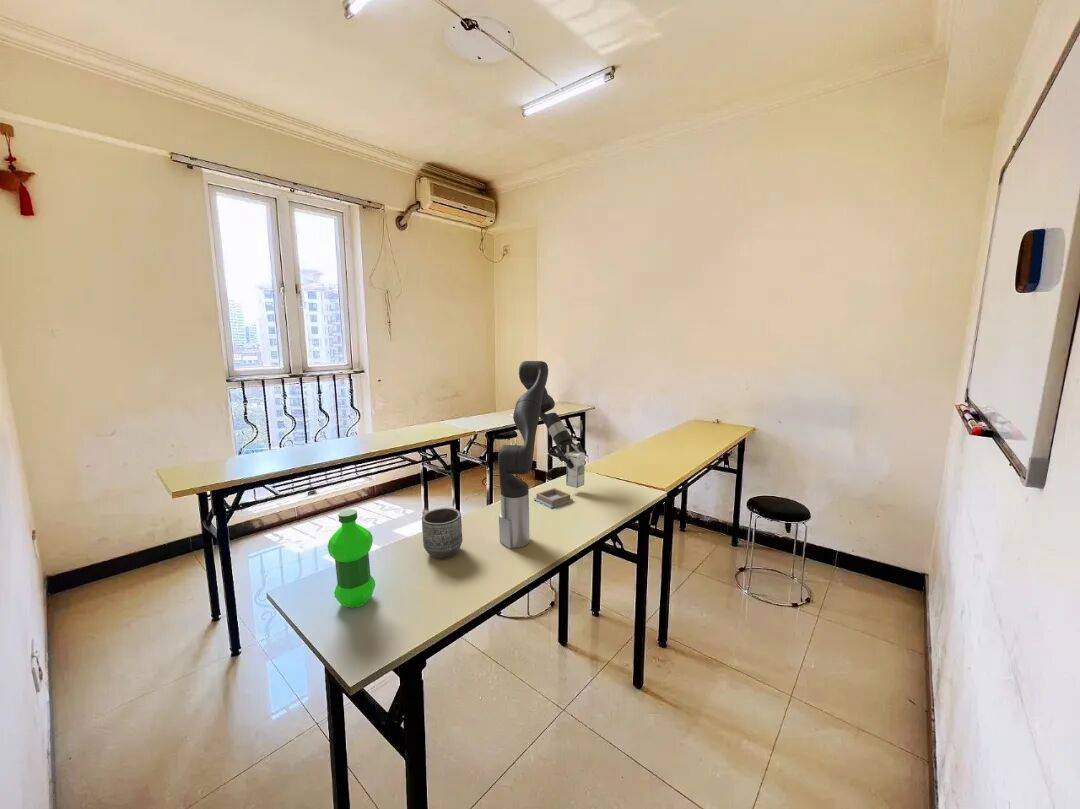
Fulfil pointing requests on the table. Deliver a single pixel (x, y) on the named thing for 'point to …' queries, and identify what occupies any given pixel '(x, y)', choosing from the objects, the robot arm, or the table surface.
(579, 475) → the syrup box
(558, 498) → the footing plate
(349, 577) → the plastic bottle
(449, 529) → the planter
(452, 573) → the table surface
